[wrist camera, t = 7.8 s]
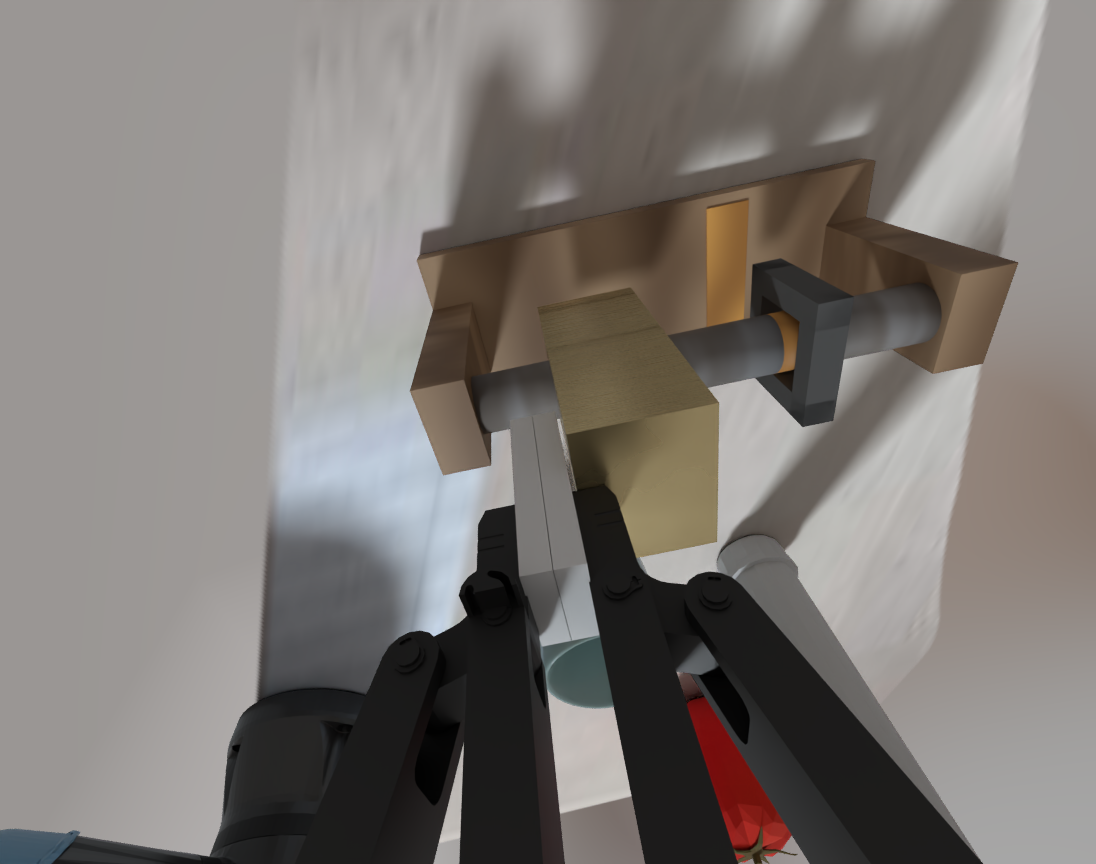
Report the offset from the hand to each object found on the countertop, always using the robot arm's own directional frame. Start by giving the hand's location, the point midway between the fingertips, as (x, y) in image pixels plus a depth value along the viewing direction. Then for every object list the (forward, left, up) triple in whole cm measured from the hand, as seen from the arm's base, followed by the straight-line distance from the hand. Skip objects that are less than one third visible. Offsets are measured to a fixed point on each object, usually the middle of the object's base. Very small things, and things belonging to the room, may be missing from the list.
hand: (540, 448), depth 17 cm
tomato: (+10, -45, -12) cm, 48 cm away
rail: (+7, 0, -12) cm, 14 cm away
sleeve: (+3, 0, -6) cm, 7 cm away
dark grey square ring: (+11, 0, -6) cm, 12 cm away
